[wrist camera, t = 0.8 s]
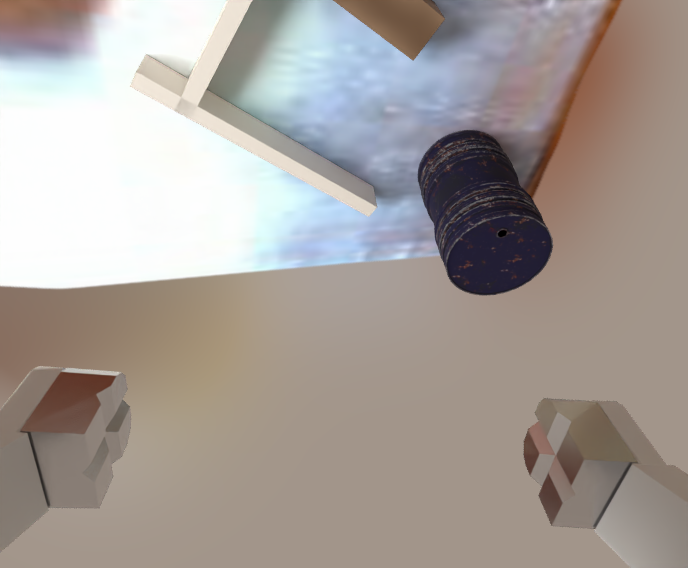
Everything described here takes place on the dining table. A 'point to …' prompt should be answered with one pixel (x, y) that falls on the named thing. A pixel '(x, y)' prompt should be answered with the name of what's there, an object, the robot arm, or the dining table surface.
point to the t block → (398, 21)
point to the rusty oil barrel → (482, 215)
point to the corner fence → (245, 116)
